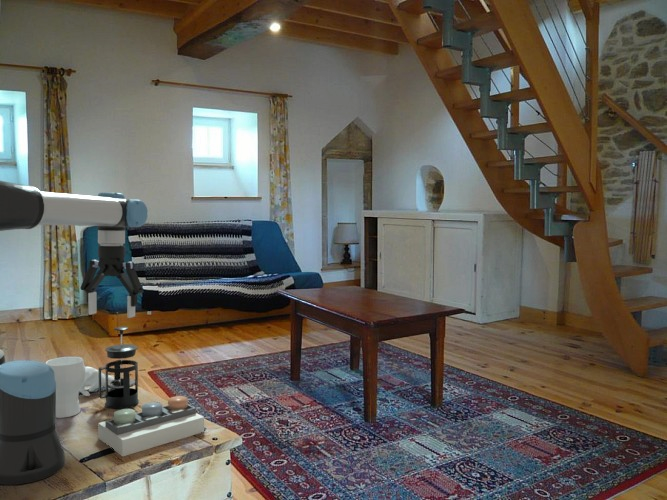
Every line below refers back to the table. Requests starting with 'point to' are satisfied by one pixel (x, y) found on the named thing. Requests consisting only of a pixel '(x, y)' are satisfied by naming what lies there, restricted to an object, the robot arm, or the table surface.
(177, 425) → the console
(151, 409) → the button slate
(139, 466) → the table surface
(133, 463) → the table surface
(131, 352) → the french press
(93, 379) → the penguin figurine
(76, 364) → the cup
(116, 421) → the button sage
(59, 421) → the table surface
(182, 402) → the button terracotta
